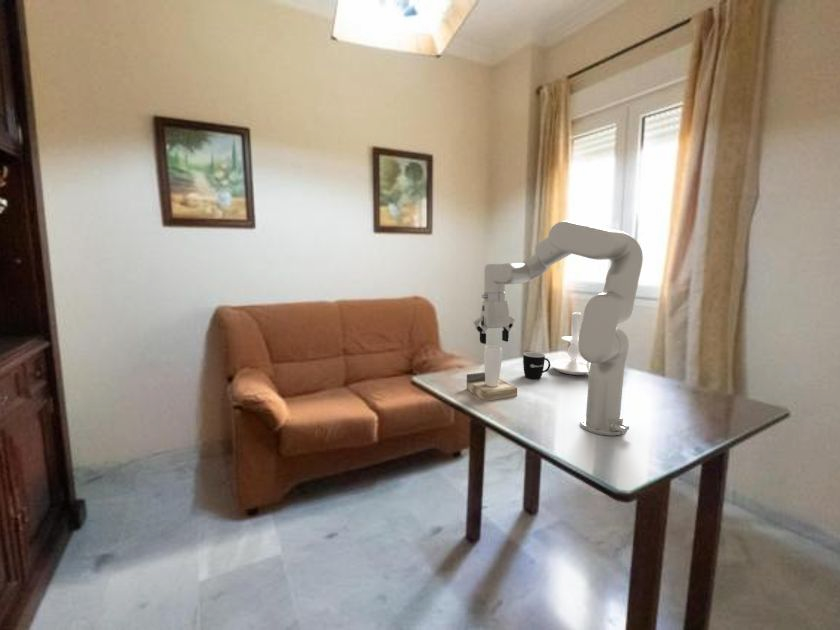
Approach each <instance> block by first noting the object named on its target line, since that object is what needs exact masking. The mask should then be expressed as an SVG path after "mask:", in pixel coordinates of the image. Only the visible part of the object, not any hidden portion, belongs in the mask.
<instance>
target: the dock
mask: <svg viewBox="0 0 840 630" xmlns="http://www.w3.org/2000/svg"><path fill="white" fill-rule="evenodd" d="M466 390H467V391H469V392H470V393H472V394H473V395H475V396H477V397H478V398H480V399H482V400H483V401H484V402H485V401H492V400H493V401H494V400H499V399H506V398H507V399H508V398H512V397H518V387H516V386H515V385H512V384H510V383H508V382H507V381H504V380H502V379H500V378H499V385H498V386H496V387H490V386H487V385H485V371H483V372H476V373H469V374H468V373H467V374H466Z"/></svg>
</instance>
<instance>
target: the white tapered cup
mask: <svg viewBox="0 0 840 630" xmlns="http://www.w3.org/2000/svg"><path fill="white" fill-rule="evenodd" d="M483 349H484V351H483V361H484V362H483V364H484V372H485V385H487V386H490V387H496V386H498V385H499V379H500V377H501V367H502V360H503V347H502V346H500V345H496V344H495V345H494V344H489V345H485V346H484V348H483Z"/></svg>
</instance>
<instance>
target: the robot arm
mask: <svg viewBox="0 0 840 630" xmlns="http://www.w3.org/2000/svg"><path fill="white" fill-rule="evenodd" d="M534 249H535V253H534V254H533V255H532V256H530V257H529V258H528V259H525V260H524V261H521V262H510V263H509V262H506V263H488V264H486V265H485V266H484V284H483V285H484V294H481V298H482V299H483V301H482V305H481V311H480V317H479V318H477V319H476V320H474V321H473V325H474V327H475V329H476V331H478V333H479V341H480V344H482V345H486V344H487V333H486V332H487V330H488V329H499V328H502V329H503V330H502V331H501V339H502V341H503V342H506V343H507V342H509V338H510V337H509V335H510V333H509V332H510V331H511V329H512V328H513V326H514V323H515V320H516V319H515V318H513V317H512V316H510V314H509V313H510V311H509V305H508V301H507V300H506V291H505V290H506V285H516V284H525V283H527V282H530V281H532V280H534V279H536V278H537V277H540V276H541V275H542V274H544V273H545V272H547V270H549V269H550V268H551V266H552V265H554V264H555V263H556V264H557V263H558V262H559V261H561V260H563V259H565V258H567V257H568V256H570V255H572V254H573V255H576V256H580V257H583V258H588V259H591V260H597V261H600V260H602V261H603V260H609V261H610V267H609V269H608V270H607V273H606V277H605V281H604V282H605V283H604V286H603V290H602V292H601V293H598V294H596V295H594V296H592V297H591V298H590V299H589V300H588V302H587V303H586V305H585V307H584V310H583V315H582V316H583V317H582V319H581V324H580V330H579V341H578V348H579V352H580V356H581V358H582V359H583V360H585V362H590V363H591V364H590V370H589V375H588V381H587V382H588V384H587V386H588V387H587V399H586V400H587V401H586V410H585V411H586V413H585V414H586V415H585V416H583V417H582V418H580V420H579V421H580V422H579V423H580V426H581V427H582V428H583V429H584V430H586V431H588V432H590V433H593V434H597V435H601V436H610V437H611V436H613V437H614V436H615V437H616V436H619V435H626V434H627V433H628V431H629V430H630V426H629V425H627V424H624V423H623V421H624V418H623V417H621V410H622V409H621V408H622V397H623V396H622V395H623V385H624V375H625V367H626V361H627V357H628V352H629V342H630V341H629V339H628V336H627V334H626V333H625V331H624V330H622V329H621V328H619V327H618V324H623V323H624V322H626V321H627V320H628V319H630V318H631V316H632V314H633V310H634V305H635V300H636V295H637V290H638V286H639V285H638V284H639V279H640V276H641V272H642V271H641V270H642V268H643V267H642V266H643V262H644V261H643V259H644V258H643V255H644V254H643V250H642V248H641V244H639V242H638V241H637V240H636V239H635V238H634V237H633V236H632V235H631V234H628V233H627V232H624V231H621V230H616V229H606V228H599V227H592V226H587V225H585V224H584V223H581V222H578V221H570V220H562V221H559V222H557V223H555V224H554V225H552V227H551V228H550V229H549V232H548V236H547V237H546V238H544V239H543V240H541V241H539V242H538V243H536V245H535V247H534Z"/></svg>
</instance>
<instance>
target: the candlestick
mask: <svg viewBox="0 0 840 630" xmlns="http://www.w3.org/2000/svg"><path fill="white" fill-rule="evenodd" d="M581 318H582V313H581V312H580V311H574V312H572V314H571V323H570V324H571V328H570V335H569V336H568V335H567V336H566V335H565V336H561V339H562V340H564V341H567V342H569V343H570V345H569V346H568V348H567V349H566V350H567V351H566V352H567V355H568V357H569V358H570V359H555V360H553V361H550V367H551V368H554V369H555V370H557V371H558V372H560V373H563V374H568V375H572V376H573V375H574V376H575V375H576V376H583V375H587V376H589V370H590V364H591V363H590V362H588V361H582V360H577V358H579V357H580V356H581V354H580V352H579V348H578V341H579V335H580V330H581V323H582V319H581Z"/></svg>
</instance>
